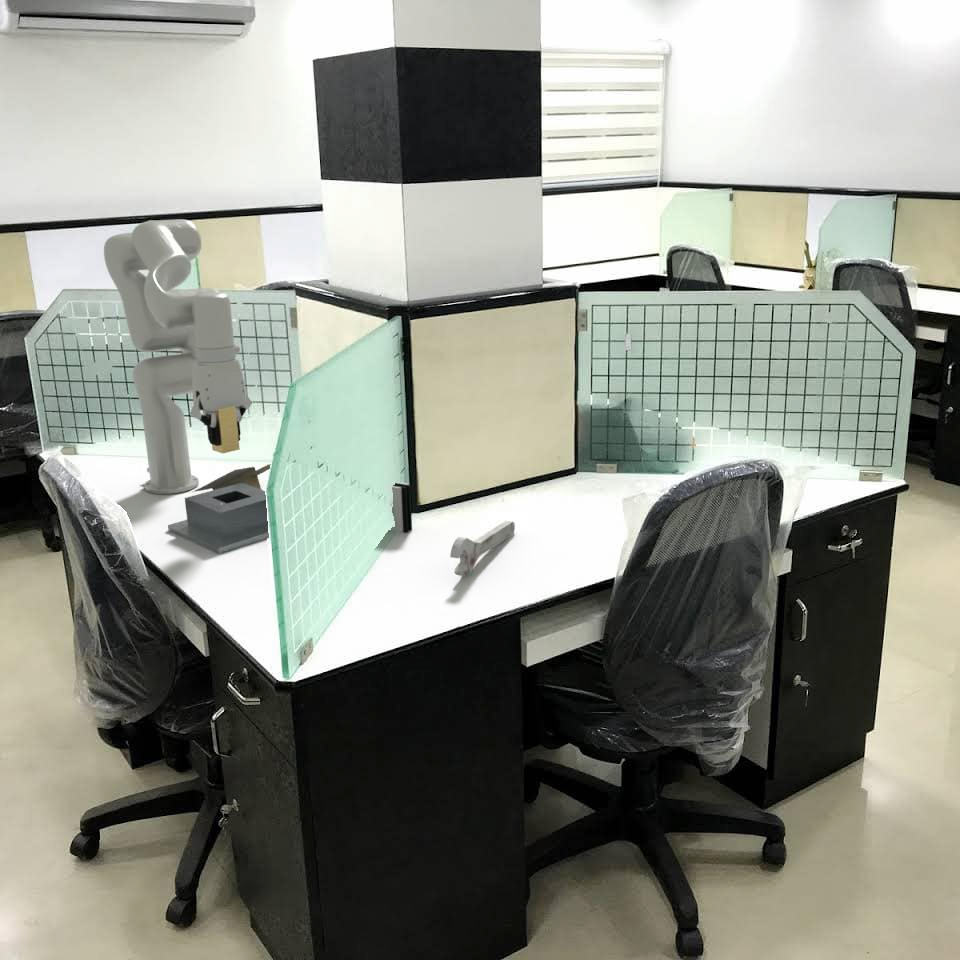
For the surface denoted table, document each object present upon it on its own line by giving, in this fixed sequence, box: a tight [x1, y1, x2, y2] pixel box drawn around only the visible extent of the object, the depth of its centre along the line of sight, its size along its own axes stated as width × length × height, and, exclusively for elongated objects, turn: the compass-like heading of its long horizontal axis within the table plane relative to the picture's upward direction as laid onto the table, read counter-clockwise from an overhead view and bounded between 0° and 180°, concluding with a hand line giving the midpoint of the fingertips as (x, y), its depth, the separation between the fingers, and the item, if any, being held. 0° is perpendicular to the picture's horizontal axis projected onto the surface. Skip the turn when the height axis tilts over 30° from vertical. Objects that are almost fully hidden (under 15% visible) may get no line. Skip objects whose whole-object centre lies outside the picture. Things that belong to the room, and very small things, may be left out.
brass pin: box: [211, 406, 241, 454], centre depth 206 cm, size 4×4×10 cm
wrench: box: [449, 520, 516, 577], centre depth 195 cm, size 8×2×30 cm
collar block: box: [167, 483, 269, 555], centre depth 212 cm, size 20×20×7 cm
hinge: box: [388, 481, 413, 534], centre depth 211 cm, size 14×5×10 cm, turn 74°
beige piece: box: [192, 463, 272, 493], centre depth 233 cm, size 16×9×15 cm
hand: (225, 441), depth 207 cm, fingers closed on brass pin, 4 cm apart
